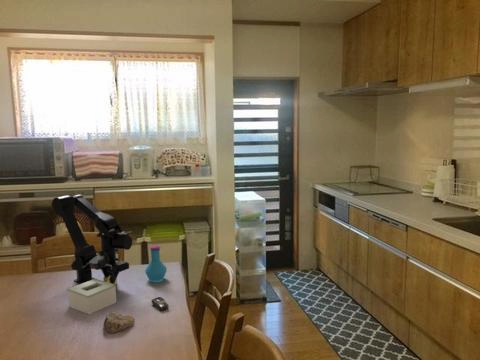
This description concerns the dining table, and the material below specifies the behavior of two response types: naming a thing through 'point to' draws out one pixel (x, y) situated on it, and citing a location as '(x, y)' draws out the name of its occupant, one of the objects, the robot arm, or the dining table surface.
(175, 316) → the dining table surface
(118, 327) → the rock
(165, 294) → the dining table surface
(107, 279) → the wooden block
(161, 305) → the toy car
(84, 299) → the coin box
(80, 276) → the robot arm
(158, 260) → the perfume bottle
